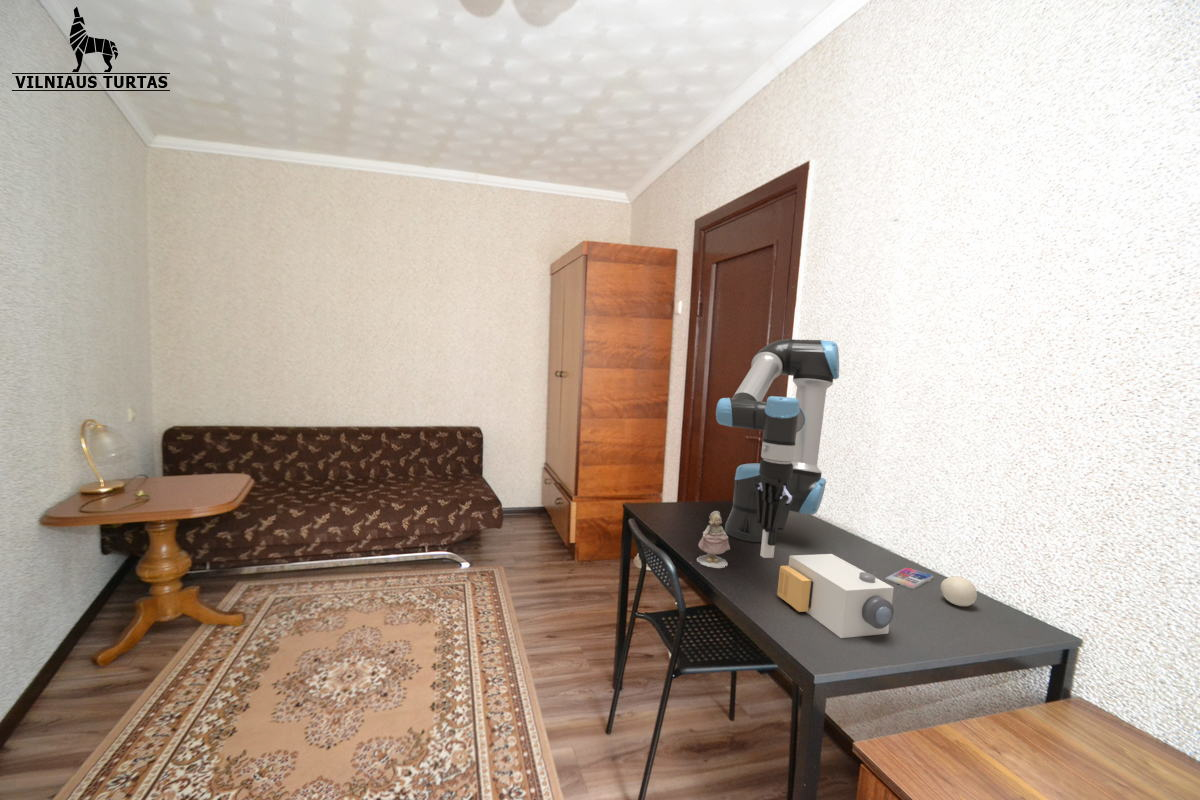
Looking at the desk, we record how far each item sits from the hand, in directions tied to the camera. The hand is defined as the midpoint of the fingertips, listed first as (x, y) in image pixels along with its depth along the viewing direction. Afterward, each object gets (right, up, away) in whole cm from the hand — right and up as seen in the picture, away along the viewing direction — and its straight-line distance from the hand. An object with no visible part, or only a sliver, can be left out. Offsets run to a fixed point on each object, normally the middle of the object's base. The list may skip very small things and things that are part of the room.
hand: (766, 556), depth 120 cm
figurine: (-11, -7, +15) cm, 20 cm away
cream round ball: (+46, -12, 0) cm, 48 cm away
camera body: (+12, -10, -11) cm, 19 cm away
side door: (+3, -9, -7) cm, 12 cm away
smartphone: (+43, -11, +14) cm, 47 cm away
